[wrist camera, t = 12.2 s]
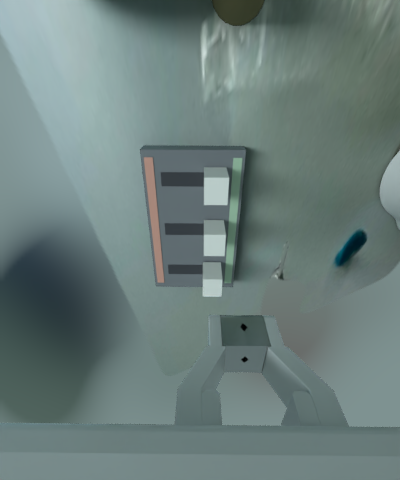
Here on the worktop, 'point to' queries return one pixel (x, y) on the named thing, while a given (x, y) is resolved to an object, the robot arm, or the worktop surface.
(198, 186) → the switch board
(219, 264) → the switch
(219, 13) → the cork
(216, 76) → the worktop surface
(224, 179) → the switch
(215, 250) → the switch
